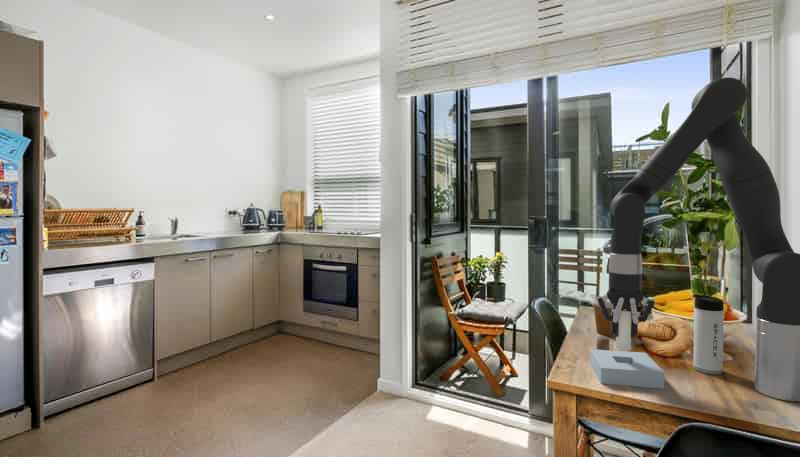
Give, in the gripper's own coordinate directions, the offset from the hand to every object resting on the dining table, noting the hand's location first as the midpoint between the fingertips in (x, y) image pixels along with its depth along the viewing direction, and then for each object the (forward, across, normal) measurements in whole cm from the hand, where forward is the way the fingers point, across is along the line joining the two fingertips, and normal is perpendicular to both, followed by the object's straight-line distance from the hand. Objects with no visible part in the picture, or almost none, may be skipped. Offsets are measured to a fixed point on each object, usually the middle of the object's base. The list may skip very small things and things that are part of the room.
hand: (623, 336), depth 108 cm
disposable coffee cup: (+11, +4, +38) cm, 40 cm away
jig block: (+10, 0, 0) cm, 10 cm away
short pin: (+10, -2, +15) cm, 18 cm away
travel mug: (+10, +22, +8) cm, 26 cm away
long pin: (+3, 0, 0) cm, 3 cm away
